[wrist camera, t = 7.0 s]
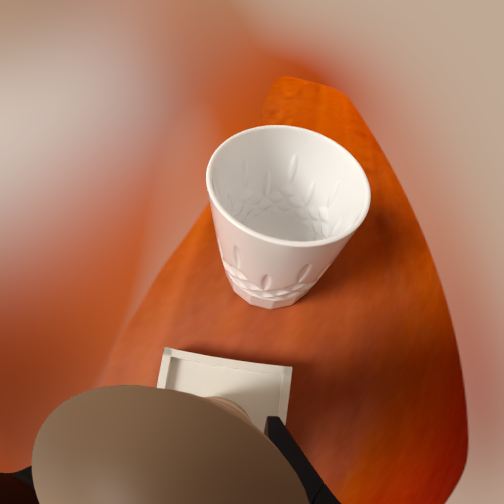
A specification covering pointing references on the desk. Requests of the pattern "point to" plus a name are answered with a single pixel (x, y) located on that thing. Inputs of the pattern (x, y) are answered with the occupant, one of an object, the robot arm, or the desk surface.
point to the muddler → (158, 452)
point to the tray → (229, 382)
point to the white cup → (283, 209)
